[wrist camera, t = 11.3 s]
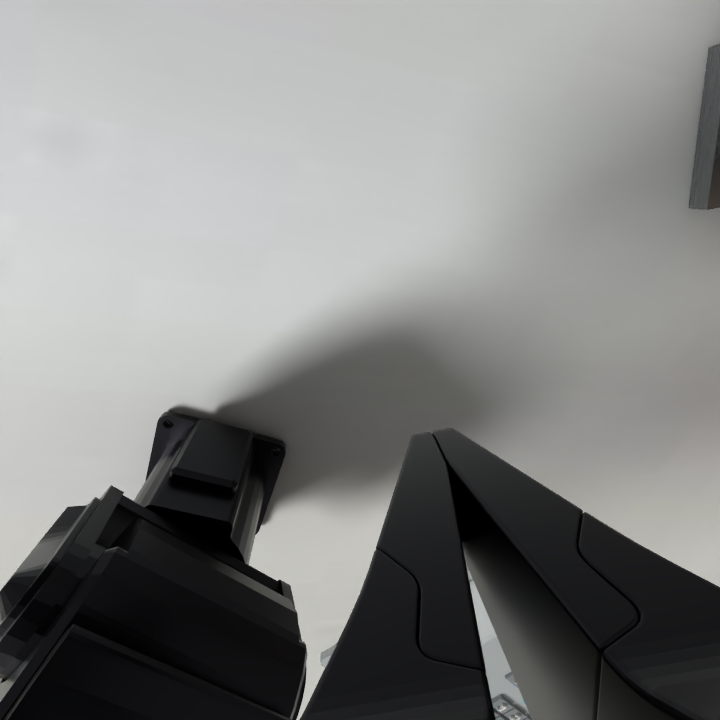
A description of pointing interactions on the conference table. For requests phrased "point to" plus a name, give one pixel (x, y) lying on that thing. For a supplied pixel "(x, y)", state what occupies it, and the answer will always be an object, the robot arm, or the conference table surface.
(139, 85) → the conference table surface
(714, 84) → the gate post
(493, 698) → the office telephone
